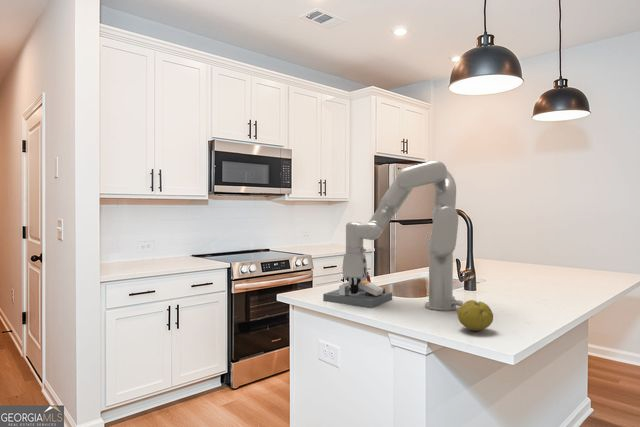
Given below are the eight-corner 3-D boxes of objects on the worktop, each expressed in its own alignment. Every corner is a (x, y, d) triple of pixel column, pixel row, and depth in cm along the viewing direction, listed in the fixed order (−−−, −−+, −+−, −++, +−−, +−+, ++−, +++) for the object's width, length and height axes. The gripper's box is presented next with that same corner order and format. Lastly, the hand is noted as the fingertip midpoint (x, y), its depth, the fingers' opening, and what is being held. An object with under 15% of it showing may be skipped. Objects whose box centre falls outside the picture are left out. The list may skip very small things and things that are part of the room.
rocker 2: (382, 293, 185) (383, 288, 184) (376, 296, 180) (377, 290, 179) (362, 284, 190) (364, 279, 189) (356, 286, 185) (358, 281, 184)
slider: (349, 294, 185) (349, 285, 185) (344, 295, 181) (344, 286, 181) (343, 293, 186) (343, 284, 186) (339, 294, 183) (339, 285, 183)
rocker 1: (367, 282, 195) (366, 276, 196) (361, 284, 190) (359, 278, 191) (349, 286, 201) (348, 281, 201) (343, 288, 196) (341, 283, 196)
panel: (392, 299, 190) (392, 288, 190) (371, 308, 173) (372, 296, 173) (346, 293, 203) (346, 283, 203) (323, 300, 186) (323, 289, 186)
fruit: (451, 326, 147) (451, 297, 147) (484, 325, 147) (484, 297, 147) (463, 336, 136) (464, 305, 136) (499, 335, 136) (499, 304, 136)
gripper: (374, 251, 180) (373, 294, 180) (343, 249, 188) (343, 290, 188) (365, 252, 173) (365, 297, 174) (335, 250, 182) (334, 292, 182)
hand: (354, 293), depth 181 cm, fingers closed
